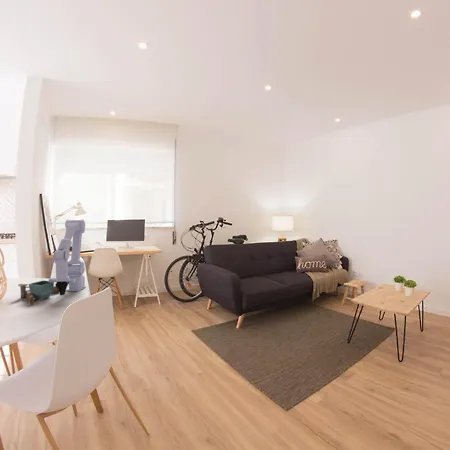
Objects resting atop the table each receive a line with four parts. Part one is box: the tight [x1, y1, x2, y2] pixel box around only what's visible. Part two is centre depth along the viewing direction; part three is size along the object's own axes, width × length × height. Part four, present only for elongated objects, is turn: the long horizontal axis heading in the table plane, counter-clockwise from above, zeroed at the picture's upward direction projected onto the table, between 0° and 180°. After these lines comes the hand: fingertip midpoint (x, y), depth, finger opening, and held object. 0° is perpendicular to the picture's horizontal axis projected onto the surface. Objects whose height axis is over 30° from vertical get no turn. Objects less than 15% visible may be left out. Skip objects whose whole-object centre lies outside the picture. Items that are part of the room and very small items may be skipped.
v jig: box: [17, 282, 60, 306], centre depth 153 cm, size 23×16×8 cm
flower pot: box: [28, 280, 55, 301], centre depth 152 cm, size 9×9×9 cm
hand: (62, 294), depth 153 cm, fingers closed
